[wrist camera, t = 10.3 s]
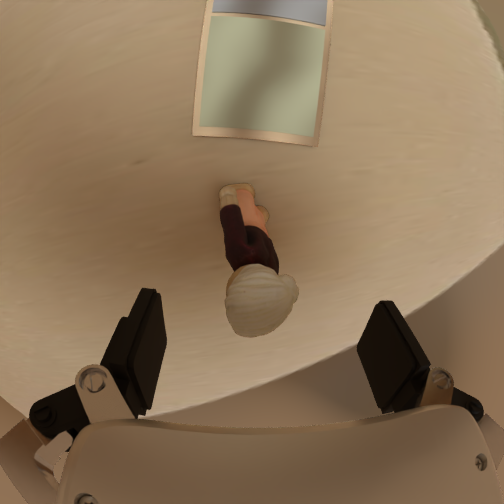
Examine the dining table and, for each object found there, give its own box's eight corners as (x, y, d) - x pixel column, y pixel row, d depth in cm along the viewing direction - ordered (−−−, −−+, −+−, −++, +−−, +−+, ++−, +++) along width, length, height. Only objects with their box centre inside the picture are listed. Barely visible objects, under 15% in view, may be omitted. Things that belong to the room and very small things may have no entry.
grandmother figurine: (197, 192, 21) (154, 293, 10) (235, 161, 20) (232, 231, 9) (258, 258, 24) (275, 383, 13) (294, 232, 23) (341, 348, 12)
